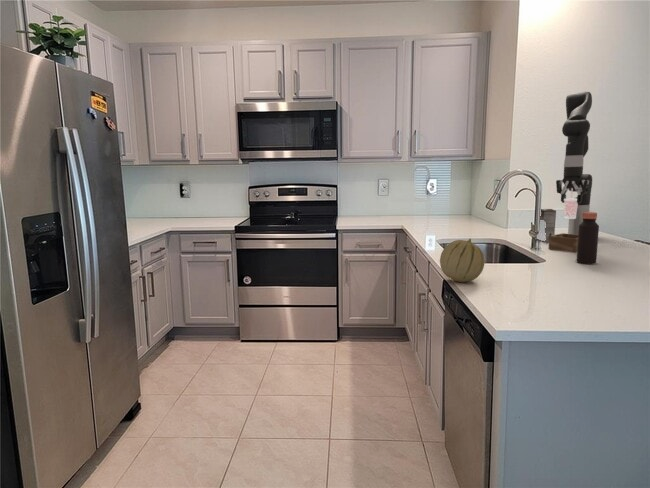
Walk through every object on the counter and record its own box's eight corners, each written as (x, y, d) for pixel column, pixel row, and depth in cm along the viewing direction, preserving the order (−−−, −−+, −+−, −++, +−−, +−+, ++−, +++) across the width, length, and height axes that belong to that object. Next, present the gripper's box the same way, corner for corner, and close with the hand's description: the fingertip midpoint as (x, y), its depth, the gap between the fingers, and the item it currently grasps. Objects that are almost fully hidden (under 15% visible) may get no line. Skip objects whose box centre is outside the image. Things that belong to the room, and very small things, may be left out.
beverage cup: (561, 217, 203) (563, 187, 200) (575, 217, 201) (577, 187, 199) (564, 219, 197) (566, 188, 195) (579, 219, 195) (581, 188, 193)
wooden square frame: (561, 245, 210) (562, 233, 209) (588, 248, 200) (588, 235, 199) (548, 248, 203) (549, 236, 202) (575, 252, 193) (575, 238, 192)
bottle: (579, 260, 177) (582, 211, 174) (598, 262, 173) (602, 212, 169) (574, 263, 173) (577, 213, 169) (593, 265, 168) (597, 214, 164)
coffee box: (536, 238, 230) (538, 208, 228) (549, 238, 229) (551, 208, 226) (541, 241, 221) (543, 210, 219) (554, 241, 220) (556, 210, 217)
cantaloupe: (430, 280, 154) (431, 238, 151) (460, 274, 161) (461, 234, 158) (462, 289, 141) (463, 244, 138) (493, 282, 148) (494, 239, 145)
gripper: (594, 165, 191) (591, 203, 194) (561, 166, 203) (559, 201, 206) (586, 165, 187) (583, 204, 190) (553, 166, 199) (551, 202, 202)
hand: (571, 202), depth 198 cm, fingers closed on beverage cup, 6 cm apart
